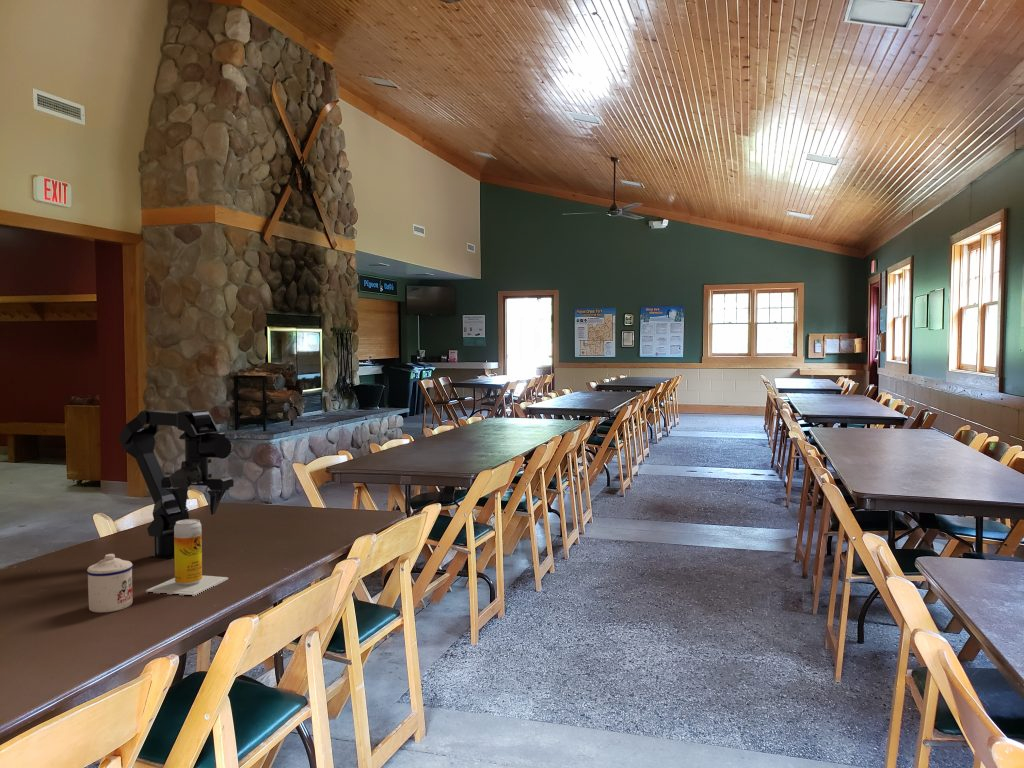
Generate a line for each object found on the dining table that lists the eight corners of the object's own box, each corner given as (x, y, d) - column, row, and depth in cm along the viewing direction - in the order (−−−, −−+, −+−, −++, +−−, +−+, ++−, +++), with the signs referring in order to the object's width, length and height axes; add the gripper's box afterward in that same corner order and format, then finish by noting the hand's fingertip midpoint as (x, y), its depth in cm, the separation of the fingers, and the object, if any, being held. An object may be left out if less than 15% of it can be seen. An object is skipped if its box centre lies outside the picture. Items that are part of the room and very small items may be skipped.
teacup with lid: (125, 612, 159) (124, 559, 159) (80, 614, 158) (79, 561, 157) (143, 594, 171) (142, 545, 171) (101, 596, 169) (100, 547, 169)
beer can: (191, 587, 174) (190, 525, 173) (169, 585, 175) (168, 523, 175) (207, 579, 180) (206, 519, 179) (186, 577, 181) (185, 518, 181)
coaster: (146, 592, 172) (146, 589, 172) (182, 575, 185) (182, 573, 185) (194, 596, 169) (194, 593, 169) (228, 579, 182) (228, 576, 182)
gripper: (145, 459, 191) (146, 518, 192) (208, 461, 187) (209, 522, 188) (174, 453, 202) (175, 509, 203) (234, 455, 198) (235, 512, 198)
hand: (197, 513), depth 198 cm, fingers open, 9 cm apart
